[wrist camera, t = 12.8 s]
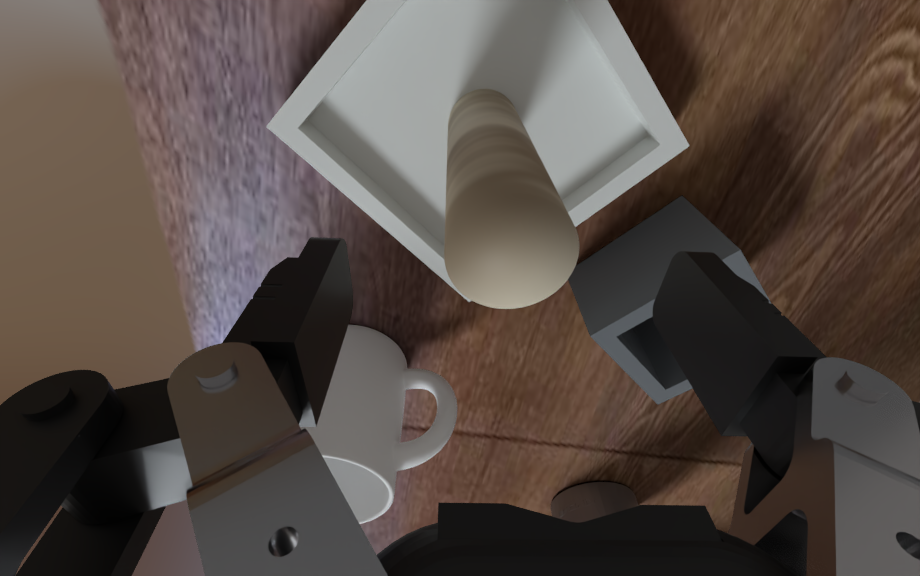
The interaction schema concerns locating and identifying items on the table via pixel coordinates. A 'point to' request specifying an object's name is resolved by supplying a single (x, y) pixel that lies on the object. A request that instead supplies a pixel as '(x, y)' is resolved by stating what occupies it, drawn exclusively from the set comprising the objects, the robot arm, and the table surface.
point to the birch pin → (502, 209)
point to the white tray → (459, 72)
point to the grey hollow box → (646, 292)
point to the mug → (376, 420)
